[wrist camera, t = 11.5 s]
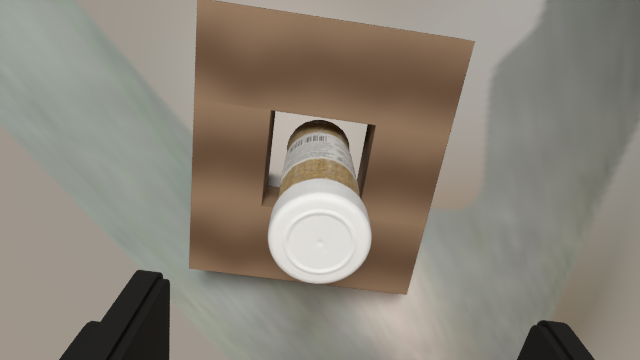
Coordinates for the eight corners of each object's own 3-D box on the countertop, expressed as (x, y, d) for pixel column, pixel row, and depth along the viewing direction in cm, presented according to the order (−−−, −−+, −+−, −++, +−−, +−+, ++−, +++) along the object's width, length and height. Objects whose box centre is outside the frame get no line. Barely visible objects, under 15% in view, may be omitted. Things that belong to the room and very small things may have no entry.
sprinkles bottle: (290, 178, 31) (271, 290, 19) (285, 119, 29) (260, 197, 17) (351, 176, 31) (373, 286, 19) (349, 115, 29) (373, 192, 17)
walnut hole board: (212, 0, 27) (197, -2, 23) (456, 37, 27) (474, 41, 24) (201, 243, 33) (189, 268, 30) (398, 267, 34) (406, 294, 31)
